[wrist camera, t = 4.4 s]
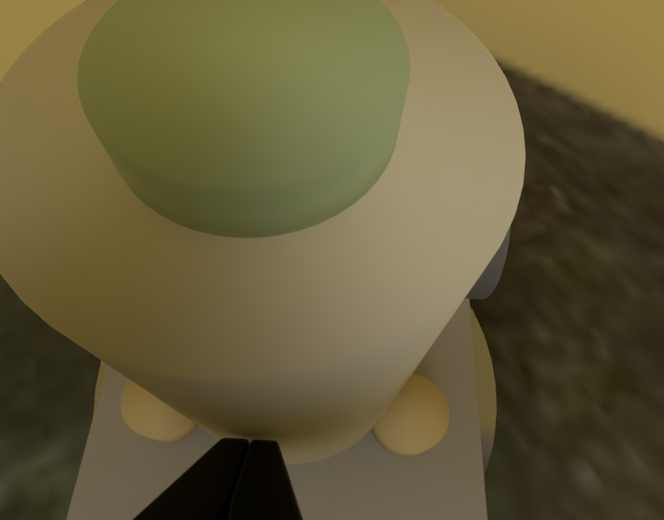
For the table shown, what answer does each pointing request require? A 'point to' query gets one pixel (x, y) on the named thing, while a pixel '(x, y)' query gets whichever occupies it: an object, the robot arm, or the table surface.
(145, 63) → the yellow cylinder stand
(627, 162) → the table surface
